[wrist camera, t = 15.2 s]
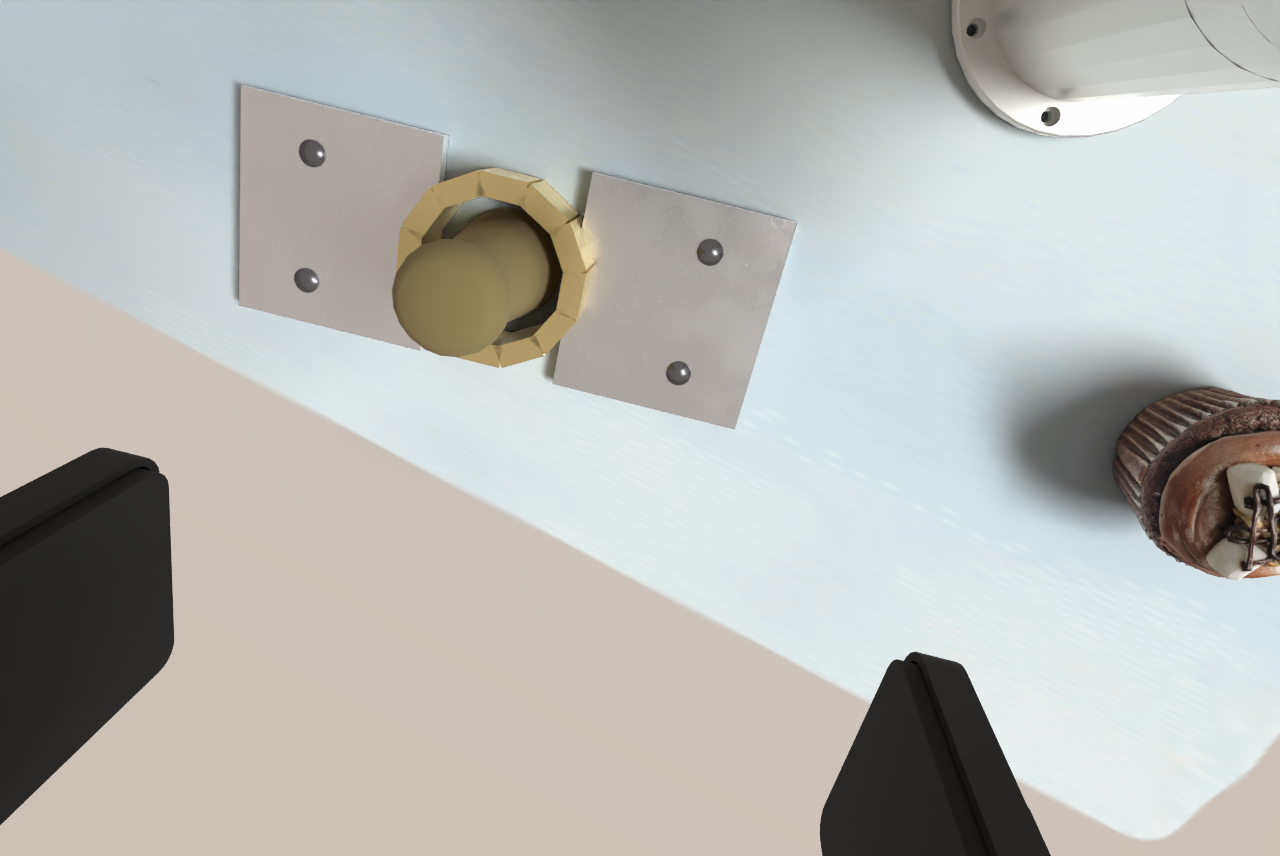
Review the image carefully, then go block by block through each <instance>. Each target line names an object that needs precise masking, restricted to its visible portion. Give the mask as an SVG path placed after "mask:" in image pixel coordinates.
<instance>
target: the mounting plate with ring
mask: <svg viewBox="0 0 1280 856" xmlns="http://www.w3.org/2000/svg"><path fill="white" fill-rule="evenodd" d="M448 142H449V136H448V135H444V134H440V133H436V132H432V131H428V130H424V129H420V128H416V127H412V126H408V125H404V124H400V123H396V122H392V121H388V120H384V119H380V118H376V117H372V116H368V115H364V114H360V113H356V112H351V111H347V110H343V109H339V108H335V107H331V106H327V105H323V104H319V103H315V102H311V101H307V100H303V99H299V98H295V97H291V96H287V95H283V94H279V93H275V92H271V91H267V90H263V89H259V88H255V87H251V86H241V121H240V256H239V305H240V306H244V307H248V308H252V309H256V310H260V311H264V312H268V313H272V314H276V315H280V316H284V317H288V318H292V319H296V320H300V321H304V322H308V323H312V324H316V325H320V326H324V327H328V328H332V329H336V330H340V331H344V332H348V333H352V334H356V335H360V336H364V337H368V338H372V339H376V340H380V341H384V342H388V343H392V344H396V345H400V346H404V347H408V348H412V349H416V350H422V349H423V347H421V346H420V345H419V344H417V343H416V342H415V341H413V340H412V339H411V338H410V337H409V336H408V334H407V333H406V332H405V330H404V329H403V328H402V326H401V325H400V323H399V321H398V318H397V316H396V313H395V311H394V308H393V298H392V287H393V283H394V279H395V275H396V273H397V271H398V269H399V268H400V266H401V265H402V263H403V262H404V260H405V259H406V257H407V255H409V254H410V253H412V252H413V251H414V250H416V249H417V248H418V247H420V246H421V245H424V244H426V243H430V242H433V241H437V240H441V235H442V230H443V228H444V227H445V226H446V224H447V223H448V222H449V221H450V219H451V218H452V217H453V215H454V214H455V213H456V212H457V210H458V209H459V208H460V207H461V205H462V204H463V203H464V202H467V201H470V200H473V199H476V198H479V197H482V196H483V197H487V198H491V199H495V200H499V201H503V202H507V203H511V204H515V205H519V206H521V207H522V208H523V209H524V210H525V211H526V212H527V213H528V214H529V215H530V216H531V217H532V218H533V219H535V220H536V221H537V222H538V223H539V224H540V225H541V226H542V227H543V228H544V229H545V230H546V231H547V232H548V233H549V234H550V236H551V238H552V241H553V244H554V247H555V250H556V253H557V256H558V259H559V262H560V265H561V268H562V271H563V276H562V281H561V287H560V292H559V297H558V303H557V308H556V311H555V312H554V313H553V314H552V315H551V316H550V317H549V319H548V320H547V321H546V322H545V323H543V324H540V325H536V326H533V327H529V328H526V329H522V330H519V331H515V332H509V331H505V330H503V331H502V332H501V334H500V335H499V336H498V338H497V339H496V340H495V341H494V342H493V343H492V344H490V345H489V346H487V347H486V348H484V349H483V350H481V351H480V352H478V353H474V354H470V355H466V356H461V357H458V358H462V359H466V360H470V361H474V362H478V363H482V364H486V365H490V366H494V367H498V368H499V367H500V366H501V367H502V368H503V367H506V366H510V365H514V364H517V363H521V362H524V361H528V360H532V359H535V358H539V357H542V356H544V355H545V354H547V353H548V352H549V351H550V350H551V349H552V348H553V347H554V346H555V345H556V343H557V342H558V341H559V340H560V339H561V340H560V346H559V351H558V356H557V362H556V367H555V372H554V377H553V383H552V384H556V385H560V386H564V387H568V388H572V389H576V390H580V391H584V392H588V393H592V394H596V395H600V396H604V397H608V398H612V399H616V400H620V401H624V402H628V403H632V404H636V405H640V406H644V407H648V408H652V409H655V410H659V411H663V412H667V413H671V414H675V415H679V416H683V417H687V418H691V419H695V420H699V421H703V422H707V423H711V424H715V425H719V426H723V427H727V428H731V429H735V426H736V423H737V420H738V416H739V413H740V410H741V407H742V403H743V400H744V397H745V393H746V390H747V387H748V384H749V380H750V377H751V374H752V370H753V367H754V364H755V361H756V357H757V354H758V351H759V347H760V344H761V341H762V337H763V334H764V331H765V328H766V324H767V321H768V318H769V314H770V311H771V308H772V305H773V301H774V298H775V295H776V291H777V288H778V285H779V282H780V278H781V275H782V272H783V268H784V265H785V262H786V258H787V255H788V252H789V249H790V245H791V242H792V239H793V235H794V232H795V229H796V226H797V223H796V222H795V221H791V220H787V219H783V218H779V217H775V216H771V215H767V214H763V213H759V212H755V211H751V210H747V209H743V208H739V207H735V206H731V205H727V204H723V203H719V202H715V201H710V200H706V199H702V198H698V197H694V196H690V195H686V194H682V193H678V192H674V191H670V190H666V189H662V188H658V187H654V186H650V185H646V184H642V183H638V182H634V181H630V180H626V179H622V178H618V177H614V176H610V175H606V174H602V173H598V172H593V173H592V177H591V182H590V188H589V193H588V198H587V203H586V209H585V214H584V219H583V221H582V218H581V216H580V217H577V218H576V216H577V215H578V214H579V213H578V212H577V211H576V210H575V209H574V208H573V207H572V206H571V205H570V204H569V203H568V202H567V201H566V200H564V199H563V198H562V197H561V196H560V195H559V194H558V193H557V192H556V191H555V190H554V189H553V188H552V187H551V186H550V185H549V184H548V183H547V182H546V181H545V180H544V181H541V178H537V177H533V176H529V175H525V174H521V173H517V172H513V171H508V170H504V169H500V168H488V169H482V170H476V171H473V172H470V173H467V174H464V175H461V176H458V177H456V178H453V179H450V180H447V181H444V177H445V168H446V160H447V151H448Z"/></svg>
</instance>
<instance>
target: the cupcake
mask: <svg viewBox="0 0 1280 856" xmlns="http://www.w3.org/2000/svg"><path fill="white" fill-rule="evenodd" d="M1116 453H1117V455H1116V457H1115V459H1114V462H1113V474H1114V478H1115V480H1116V482H1117V484H1118V485H1119V487H1120V489H1121V491H1122V493H1123V494H1124V496H1125V498H1126V499H1127V501H1128V503H1129V504H1130V506H1131V508H1132V509H1133V511H1134V513H1135V515H1136V516H1137V518H1138V520H1139V522H1140V525H1141V526H1142V528H1143V530H1144V531H1145V533H1146V535H1147V536H1148V538H1149V539H1150V540H1151V539H1152V540H1153V542H1154V543H1155V545H1156V546H1157V547H1158V548H1159V549H1161V550H1162V551H1164V552H1165V553H1166V554H1167V556H1172V557H1174V558H1175V559H1176V561H1177V562H1183V563H1185V564H1186V566H1192V567H1194V568H1196V569H1199V570H1201V571H1203V572H1205V573H1207V574H1210V575H1214V576H1217V577H1225V578H1228V579H1233V580H1240V579H1241V578H1259V577H1268V576H1274V575H1280V400H1268V399H1263V398H1254V397H1250V396H1245V395H1242V394H1239V393H1236V392H1233V391H1227V390H1223V389H1220V388H1217V387H1212V388H1210V389H1207V390H1202V389H1198V390H1190V391H1186V392H1182V393H1176V394H1173V395H1170V396H1168V397H1165V398H1163V399H1162V400H1160V401H1157V402H1154V403H1152V404H1151V405H1150V406H1148V407H1146V408H1144V409H1143V410H1142V411H1141V412H1140V413H1139V414H1138V415H1136V416H1135V418H1134V420H1133V421H1131V422H1130V423H1129V424H1128V426H1127V428H1126V429H1125V431H1124V432H1123V433H1122V434H1121V436H1120V437H1119V438H1118V441H1117V446H1116Z"/></svg>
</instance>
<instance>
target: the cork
mask: <svg viewBox="0 0 1280 856" xmlns="http://www.w3.org/2000/svg"><path fill="white" fill-rule="evenodd" d="M559 278H560V262H559V259H558V256H557V253H556V250H555V247H554V244H553V241H552V238H551V236H550V234H549V233H548V232H547V231H546V230H545V229H544V228H543V227H542V226H541V225H540V224H539V223H538V222H537V221H536V220H535V219H533V218H532V217H531V216H530V215H528V214H526V213H523V212H521V211H518V210H516V209H500V208H498V209H495V210H491V211H488V212H484V213H482V214H481V215H479V216H478V217H476V218H475V219H474V220H472V221H471V222H470V223H469V224H467V225H466V226H465V227H464V228H463V229H462V230H461V231H460V232H459V233H458V234H457V235H456V236H455V237H454V238H453V239H441V240H437V241H433V242H430V243H426V244H424V245H421V246H420V247H418V248H417V249H416V250H414V251H413V252H412V253H410V254H409V255H407V257H406V259H405V260H404V262H403V263H402V265H401V266H400V268H399V269H398V271H397V273H396V275H395V279H394V283H393V287H392V298H393V308H394V311H395V313H396V316H397V318H398V321H399V323H400V325H401V326H402V328H403V329H404V330H405V332H406V333H407V334H408V336H409V337H410V338H411V339H412V340H413V341H415V342H416V343H417V344H419V345H420V346H421V347H423V348H424V349H425V350H428V351H431V352H433V353H436V354H438V355H441V356H453V357H461V356H466V355H470V354H474V353H478V352H480V351H481V350H483V349H484V348H486V347H487V346H489V345H490V344H492V343H493V342H494V341H495V340H496V339H497V338H498V336H499V335H500V334H501V332H502V331H503V330H504V328H505V327H506V325H507V322H509V321H511V320H514V319H517V318H519V317H522V316H524V315H527V314H530V313H532V312H534V311H535V310H537V309H538V308H540V307H541V306H543V305H544V304H546V303H547V301H548V300H549V299H550V297H551V296H552V295H553V293H554V292H555V290H556V287H557V284H558V281H559Z"/></svg>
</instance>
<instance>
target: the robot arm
mask: <svg viewBox="0 0 1280 856" xmlns="http://www.w3.org/2000/svg"><path fill="white" fill-rule="evenodd" d="M969 25H973V26H974V27H975V29H976V30H975V34H974V35H973V36H969V35H967V32H966V31H967V28H968V26H969ZM952 33H953V39H954V44H955V49H956V55H957V58H958V61H959V63H960V65H961V68H962V70H963V73H964V75H965V78H966V80H967V82H968V83H969V85H970V86H971V87H972V89H973V90H974V92H975V93H976V95H977V96H978V98H979V99H980V101H982V102H983V103H984V104H985V105H986V106H987V107H988V108H989V109H990V110H991V111H992V112H994V113H995V114H996V115H997V116H998V117H1000V118H1001V119H1003V120H1005V121H1007V122H1008V123H1010V124H1012V125H1014V126H1015V127H1017V128H1019V129H1022V130H1025V131H1029V132H1032V133H1035V134H1039V135H1042V136H1053V137H1063V138H1072V137H1091V136H1095V135H1100V134H1105V133H1110V132H1115V131H1118V130H1120V129H1123V128H1125V127H1128V126H1131V125H1133V124H1136V123H1138V122H1141V121H1143V120H1145V119H1146V118H1148V117H1150V116H1152V115H1153V114H1155V113H1157V112H1158V111H1160V110H1162V109H1164V108H1165V107H1167V106H1169V105H1170V104H1171V103H1173V102H1174V101H1175V100H1176V99H1178V98H1179V97H1180V96H1182V95H1185V94H1198V93H1212V92H1225V91H1238V90H1251V89H1264V88H1277V87H1280V0H952ZM1044 111H1046V112H1047V113H1048V119H1047V120H1046V121H1045V122H1042V121H1041V115H1042V113H1043V112H1044ZM173 646H174V623H173V595H172V567H171V538H170V509H169V485H168V480H167V479H166V477H165V476H164V475H162V474H160V473H159V468H158V466H157V465H156V463H155V462H154V461H152V460H151V459H149V458H145V457H141V456H137V455H133V454H129V453H125V452H121V451H117V450H113V449H109V448H98V449H95V450H92V451H90V452H88V453H86V454H84V455H82V456H80V457H78V458H76V459H74V460H72V461H70V462H69V463H67V464H65V465H63V466H61V467H59V468H57V469H55V470H53V471H51V472H49V473H47V474H45V475H43V476H41V477H39V478H37V479H35V480H33V481H31V482H29V483H27V484H26V485H24V486H21V487H20V488H18V489H16V490H14V491H12V492H10V493H8V494H6V495H4V496H2V497H0V825H1V824H2V823H3V822H4V821H5V820H6V819H7V818H8V817H9V816H10V815H11V814H12V813H13V812H14V811H15V810H16V809H17V808H18V807H20V805H22V804H23V803H24V802H25V801H26V800H27V799H28V798H29V797H30V796H31V795H32V794H33V793H34V792H35V791H36V790H37V789H38V788H39V787H40V786H41V785H42V784H43V783H44V782H45V781H46V780H47V779H49V778H50V776H52V774H54V773H55V772H56V771H57V770H58V769H59V768H60V767H61V766H62V765H63V764H64V763H65V762H66V761H67V760H68V759H69V758H70V757H71V756H72V755H73V754H74V753H75V752H76V751H78V750H79V749H80V748H81V747H82V746H83V745H84V744H85V743H86V742H87V741H88V740H89V739H90V738H91V737H92V736H93V735H94V734H95V733H96V732H97V731H98V730H99V729H100V728H101V727H102V726H103V725H104V724H105V723H106V722H107V721H109V720H110V719H111V718H112V717H113V716H114V715H115V714H116V713H117V712H118V711H119V710H120V709H121V708H122V707H123V706H124V705H125V704H126V703H127V702H128V701H129V700H130V699H131V698H132V697H133V696H135V695H136V693H138V692H139V691H140V690H141V689H142V688H143V687H144V686H145V685H146V684H147V683H148V682H149V681H150V680H151V679H152V678H153V677H154V676H155V675H156V674H157V673H158V672H159V671H160V670H161V669H162V668H163V667H164V665H165V664H166V662H167V661H168V659H169V657H170V655H171V652H172V649H173ZM820 841H821V848H822V855H823V856H1051V855H1050V853H1049V851H1048V849H1047V847H1046V844H1045V842H1044V840H1043V838H1042V835H1041V834H1040V831H1039V829H1038V827H1037V825H1036V822H1035V820H1034V818H1033V816H1032V813H1031V811H1030V809H1029V808H1028V806H1027V805H1026V802H1025V800H1024V798H1023V796H1022V794H1021V791H1020V789H1019V787H1018V785H1017V783H1016V780H1015V778H1014V776H1013V774H1012V772H1011V769H1010V767H1009V765H1008V763H1007V760H1006V758H1005V756H1004V754H1003V752H1002V749H1001V747H1000V745H999V743H998V741H997V738H996V736H995V734H994V732H993V730H992V727H991V725H990V723H989V721H988V719H987V716H986V714H985V712H984V710H983V708H982V705H981V703H980V701H979V699H978V696H977V694H976V692H975V690H974V688H973V685H972V683H971V681H970V679H969V677H968V674H967V672H966V670H965V669H964V667H963V666H962V665H961V664H959V663H957V662H954V661H950V660H946V659H942V658H938V657H934V656H930V655H926V654H922V653H918V652H912V653H910V654H909V655H908V656H907V657H906V658H905V660H904V661H901V660H894V661H892V662H891V663H890V665H889V667H888V669H887V671H886V673H885V675H884V677H883V680H882V682H881V684H880V686H879V688H878V690H877V693H876V695H875V697H874V699H873V701H872V703H871V706H870V708H869V710H868V712H867V714H866V717H865V719H864V721H863V723H862V725H861V727H860V730H859V732H858V734H857V736H856V738H855V740H854V743H853V745H852V747H851V749H850V751H849V754H848V755H847V758H846V760H845V762H844V764H843V766H842V769H841V771H840V773H839V775H838V777H837V779H836V781H835V784H834V786H833V788H832V790H831V792H830V794H829V797H828V799H827V801H826V803H825V806H824V808H823V812H822V816H821V823H820Z"/></svg>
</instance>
